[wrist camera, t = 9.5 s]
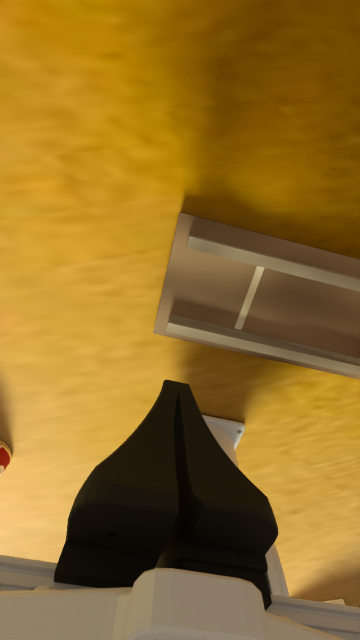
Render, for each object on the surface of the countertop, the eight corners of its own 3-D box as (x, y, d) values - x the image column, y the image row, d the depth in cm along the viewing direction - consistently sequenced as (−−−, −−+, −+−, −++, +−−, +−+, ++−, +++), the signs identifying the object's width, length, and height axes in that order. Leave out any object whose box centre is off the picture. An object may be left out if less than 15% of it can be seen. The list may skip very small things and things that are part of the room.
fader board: (425, 387, 25) (458, 410, 22) (154, 326, 23) (150, 343, 20) (496, 295, 21) (548, 309, 18) (180, 212, 19) (179, 212, 16)
